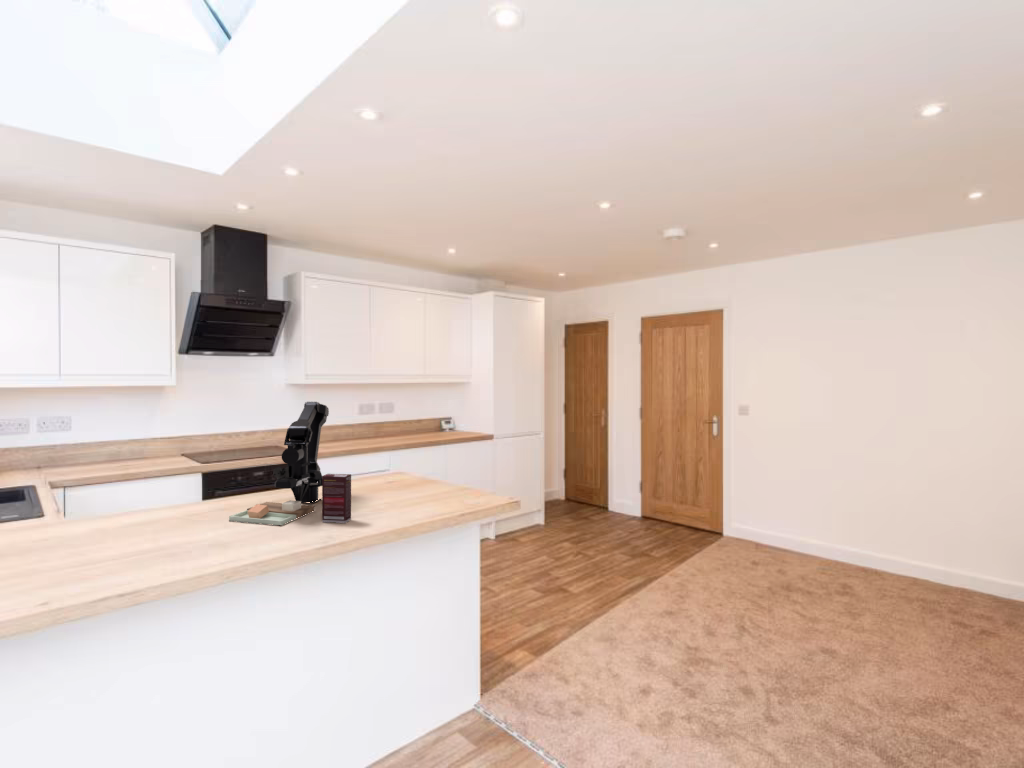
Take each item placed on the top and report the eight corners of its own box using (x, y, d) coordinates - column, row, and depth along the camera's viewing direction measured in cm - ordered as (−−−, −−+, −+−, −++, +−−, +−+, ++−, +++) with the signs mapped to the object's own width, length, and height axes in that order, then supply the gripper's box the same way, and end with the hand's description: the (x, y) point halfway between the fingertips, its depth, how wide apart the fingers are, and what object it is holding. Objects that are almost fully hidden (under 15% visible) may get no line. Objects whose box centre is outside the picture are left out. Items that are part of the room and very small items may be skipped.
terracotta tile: (258, 510, 181) (257, 504, 180) (269, 511, 180) (267, 505, 179) (249, 517, 177) (247, 511, 176) (259, 519, 176) (257, 512, 175)
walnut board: (266, 507, 192) (266, 501, 192) (314, 511, 187) (314, 506, 187) (247, 514, 182) (247, 508, 182) (296, 519, 178) (296, 513, 178)
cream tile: (290, 507, 185) (290, 500, 185) (301, 508, 184) (301, 501, 184) (281, 510, 181) (281, 503, 181) (293, 511, 180) (293, 504, 180)
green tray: (246, 514, 182) (246, 510, 182) (296, 519, 177) (296, 514, 177) (229, 521, 174) (229, 516, 174) (280, 526, 170) (280, 521, 170)
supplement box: (351, 519, 178) (352, 473, 178) (345, 523, 174) (346, 476, 173) (327, 518, 179) (328, 473, 179) (321, 522, 174) (321, 475, 174)
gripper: (295, 454, 197) (295, 495, 197) (261, 462, 179) (261, 507, 179) (321, 456, 194) (321, 497, 195) (289, 464, 176) (289, 510, 177)
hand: (298, 502), depth 186 cm, fingers closed
